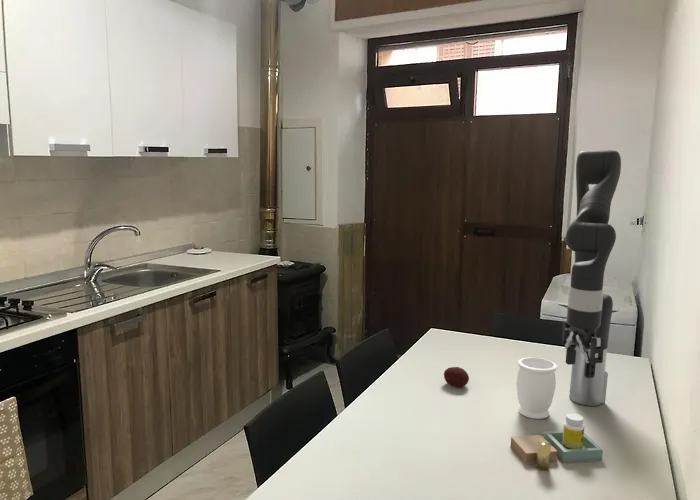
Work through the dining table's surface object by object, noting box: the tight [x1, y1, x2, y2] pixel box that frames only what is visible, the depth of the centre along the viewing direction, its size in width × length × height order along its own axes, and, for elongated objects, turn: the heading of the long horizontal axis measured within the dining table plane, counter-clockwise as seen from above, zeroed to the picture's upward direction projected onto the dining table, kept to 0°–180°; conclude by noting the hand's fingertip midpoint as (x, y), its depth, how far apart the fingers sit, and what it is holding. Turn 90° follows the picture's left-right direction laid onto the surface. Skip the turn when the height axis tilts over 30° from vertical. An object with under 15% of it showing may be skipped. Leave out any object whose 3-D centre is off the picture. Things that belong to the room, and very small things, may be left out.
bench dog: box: [535, 441, 551, 472], centre depth 129 cm, size 3×3×6 cm
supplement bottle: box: [562, 413, 585, 449], centre depth 137 cm, size 5×5×8 cm
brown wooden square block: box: [510, 434, 558, 465], centre depth 136 cm, size 8×8×3 cm
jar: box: [516, 356, 558, 420], centre depth 157 cm, size 11×10×15 cm
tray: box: [543, 430, 604, 463], centre depth 137 cm, size 10×10×3 cm
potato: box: [443, 366, 470, 389], centre depth 176 cm, size 7×8×6 cm
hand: (579, 370), depth 134 cm, fingers open, 8 cm apart
